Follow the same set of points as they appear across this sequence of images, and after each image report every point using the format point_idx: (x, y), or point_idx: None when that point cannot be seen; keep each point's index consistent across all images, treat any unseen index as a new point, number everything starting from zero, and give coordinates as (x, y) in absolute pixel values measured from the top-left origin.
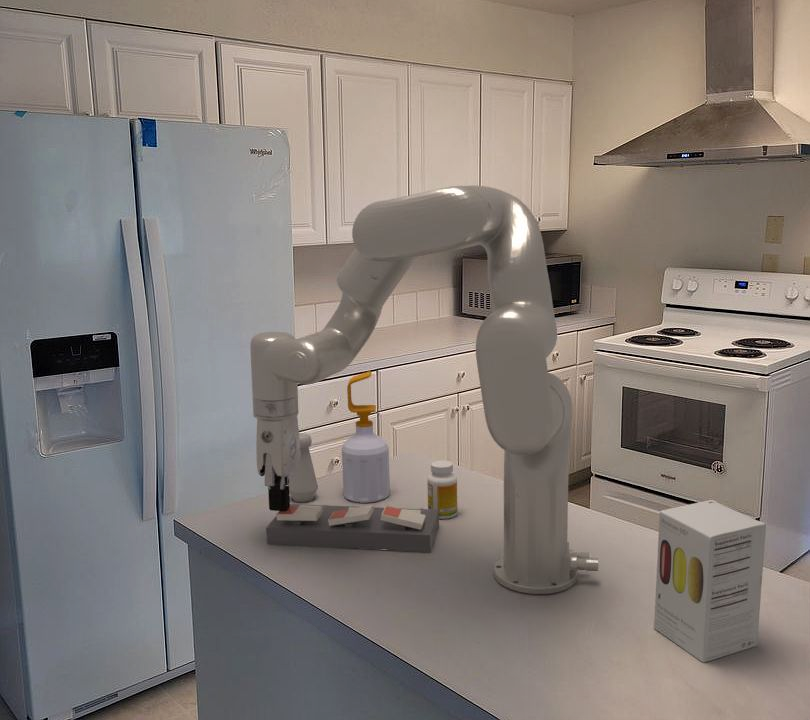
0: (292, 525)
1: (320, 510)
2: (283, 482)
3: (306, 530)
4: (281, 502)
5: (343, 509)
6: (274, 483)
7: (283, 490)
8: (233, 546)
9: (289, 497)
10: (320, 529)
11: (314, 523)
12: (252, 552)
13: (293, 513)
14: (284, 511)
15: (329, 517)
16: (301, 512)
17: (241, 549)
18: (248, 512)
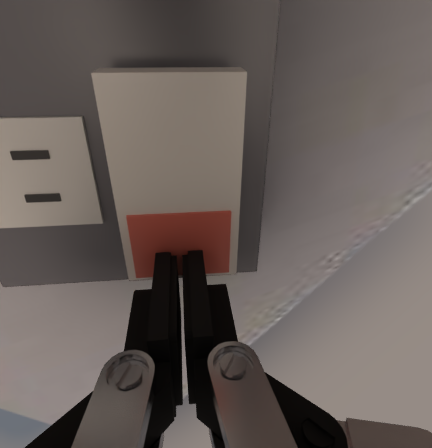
0: None
1: (145, 71)
2: (249, 395)
3: (270, 109)
4: (220, 296)
5: None
6: (364, 435)
7: (211, 342)
8: (261, 308)
9: (152, 284)
10: (267, 31)
11: None
12: (300, 253)
13: (221, 210)
14: (203, 255)
15: (91, 23)
16: (204, 175)
17: (280, 285)
18: (26, 357)
